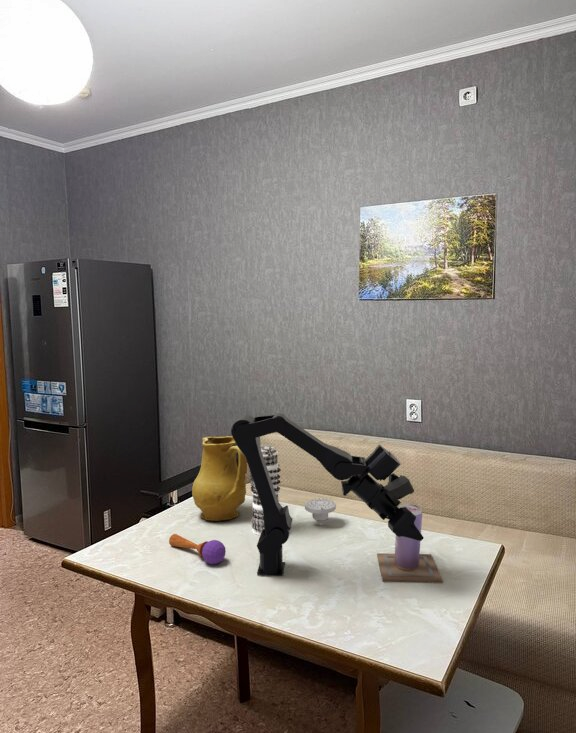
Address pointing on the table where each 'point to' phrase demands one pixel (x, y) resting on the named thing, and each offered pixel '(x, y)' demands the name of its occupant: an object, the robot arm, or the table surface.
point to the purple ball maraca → (202, 548)
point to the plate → (422, 573)
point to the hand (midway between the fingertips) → (415, 531)
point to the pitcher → (220, 479)
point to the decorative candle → (273, 469)
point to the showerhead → (320, 509)
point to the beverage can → (409, 543)
